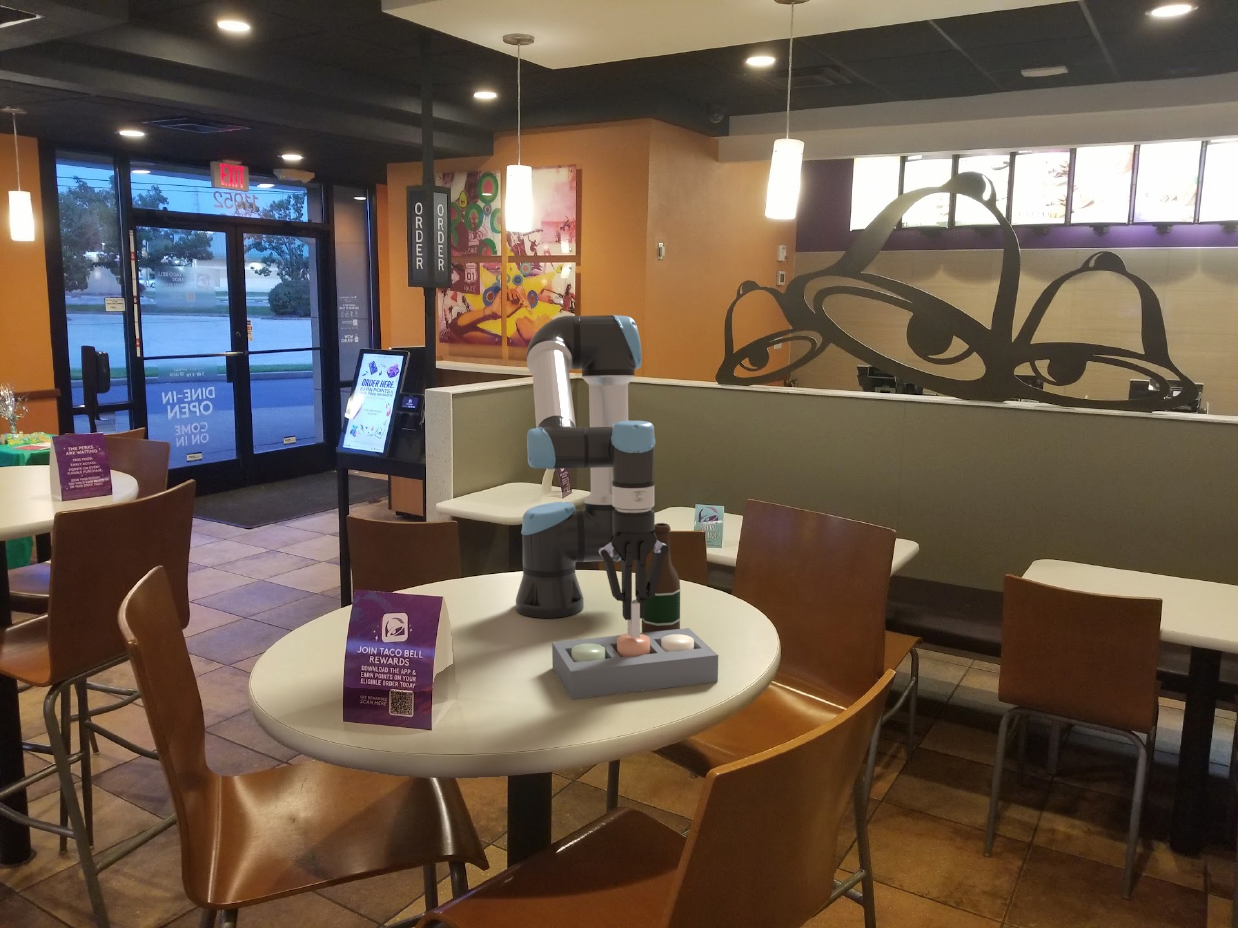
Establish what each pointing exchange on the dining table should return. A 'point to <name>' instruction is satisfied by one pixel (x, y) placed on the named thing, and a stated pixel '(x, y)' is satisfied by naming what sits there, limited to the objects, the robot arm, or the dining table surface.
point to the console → (633, 666)
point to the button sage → (587, 652)
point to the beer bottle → (663, 592)
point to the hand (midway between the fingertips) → (633, 635)
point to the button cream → (677, 643)
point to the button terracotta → (633, 645)
